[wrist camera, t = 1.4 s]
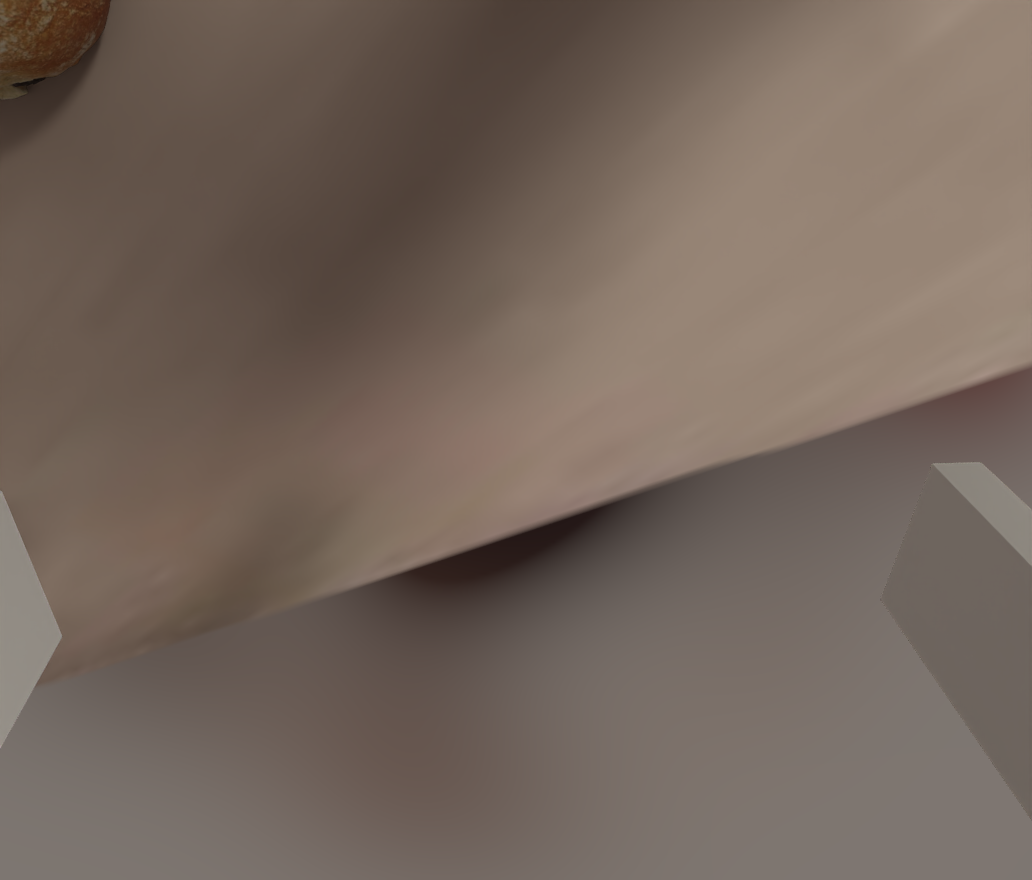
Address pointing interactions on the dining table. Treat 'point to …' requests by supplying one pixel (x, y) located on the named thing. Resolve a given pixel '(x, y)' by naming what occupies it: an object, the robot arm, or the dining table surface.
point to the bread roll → (45, 39)
